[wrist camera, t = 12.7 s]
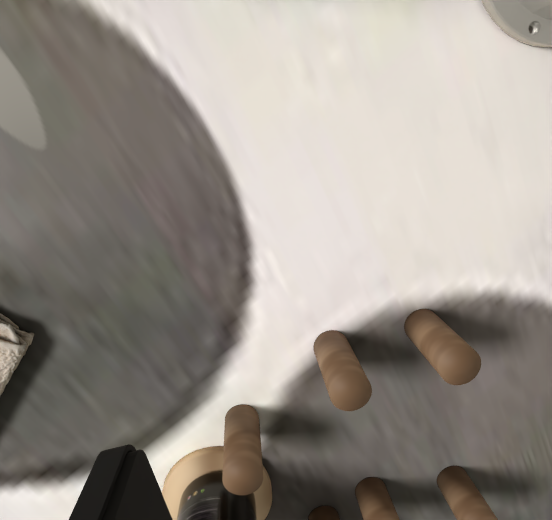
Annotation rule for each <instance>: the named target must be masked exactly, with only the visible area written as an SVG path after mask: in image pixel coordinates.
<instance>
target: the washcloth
mask: <svg viewBox="0 0 552 520" xmlns="http://www.w3.org/2000/svg"><path fill="white" fill-rule="evenodd" d="M33 337H34V333H32V332H30V333H27V332H25V331H21V330H20V329H19V327H18V326H17V325H15V324H14V323H13V322H12V321H11V320H10V319H9V318H7V317H5V316H4V315H2V314H0V396H1V394H2V393H3V392H4V388H5V386H6V384H8V382H9V380H10V379H11V376H12V374H13V372H14V370H15V369H17V366H18V365H19V362H20V361H21V359H22V357H23V356H25V354H26V351H27V348H28V346H29V345H31V343H32V340H33Z"/></svg>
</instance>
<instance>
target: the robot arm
mask: <svg viewBox="0 0 552 520" xmlns="http://www.w3.org/2000/svg"><path fill="white" fill-rule="evenodd" d="M482 3H483V5H484V7H485V9H486V11H487V12H488V14H489V15H490V17H491V18H492V20H493V21H494V22H495V23H496V24H497V25H498V26H499V27H500V28H501V29H502V30H503V31H504V32H505V33H506V34H508V35H510V36H511V37H513V38H514V39H516V40H518V41H520V42H523V43H526V44H529V45H532V46H540V47H552V0H482ZM528 29H529V30H528ZM69 520H173V519H172V517H171V514H170V512H169V510H168V507H167V505H166V502H165V500H164V497H163V495H162V493H161V490H160V488H159V485H158V483H157V481H156V478H155V476H154V473H153V471H152V468H151V466H150V464H149V461H148V459H147V456H146V454H145V452H144V451H143V450H137V451H136V449H135V447H133V446H132V445H125V446H121V447H117V448H113V449H108V450H104V451H102V452H100V454H99V455H98V457H97V459H96V461H95V463H94V465H93V468H92V470H91V472H90V474H89V476H88V479H87V481H86V483H85V485H84V487H83V490H82V492H81V494H80V496H79V498H78V501H77V503H76V505H75V507H74V509H73V512H72V514H71V516H70V518H69Z"/></svg>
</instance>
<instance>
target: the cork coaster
mask: <svg viewBox="0 0 552 520" xmlns="http://www.w3.org/2000/svg"><path fill="white" fill-rule="evenodd" d="M223 454H224V447H221V446H217V447H208V448H203V449H200V450H196V451H194V452H192V453H190V454H188V455H186V456H184V457H183V458H182V459H180V460H179V461H178V462H177V463H176V464H175V465H174V466H173V467H172V468H171V470H170V471H169V473H168V475H167V477H166V479H165V482H164V487H163V491H162V495H163V497H164V500H165V502H166V505H167V507H168V510H169V512H170V514H171V517H172V519H173V520H177V515H178V509H179V504H180V500H181V496H182V494H183V492H184V490H185V489H186V487H187V486H188V485H189V484H190V483H191V482H192V481H193V480H195V479H196V478H198V477H200V476H202V475H204V474H207V473H211V472H223ZM262 466H263V465H262ZM253 493H254V496H255V502H256V517H257V520H265V518H266V517H267V515H268V513H269V511H270V508H271V504H272V488H271V481H270V477H269V475H268V472H267V471H266V469H265V467H264V466H263V482H262V485H261V486H260V487H259V489H258V490H256V491H255V492H253Z"/></svg>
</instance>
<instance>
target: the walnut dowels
mask: <svg viewBox="0 0 552 520" xmlns="http://www.w3.org/2000/svg"><path fill="white" fill-rule="evenodd" d="M404 329H405V333H406V335H407V336H408V337H409V338H410V339H411V341H412V342H413V343H414V344H415V346H416V347H417V348H418V349H419V350H420V352H421V353H422V354H423V355H424V356H425V358H426V359H427V360H428V361H429V362H430V364H431V365H432V366H433V367H434V368H435V370H436V371H437V372H438V373H439V374H440V376H441V377H442V378H443V379H444V380H445V381H446V382H447V383H449V384H452V385H462V384H466V383H468V382H470V381H471V380H473V379H474V378H475V377H476V375H477V374H478V372H479V370H480V367H481V359H480V356H479V354H478V353H477V352H476V351H475V350H474V349H473V348H472V347H471V346H469V345H468V344H467V343H466V342H465V341H464V340H463V339H462V338H461V337H460V336H459V335H458V334H456V333H455V332H454V331H453V330H452V329H451V328H450V327H449V326H448V325H447V324H446V323H445V322H443V321H442V320H441V319H440V318H439V317H438V316H437V315H436V314H435V313H434V312H432V311H431V310H428V309H419V310H416V311H414V312H412V313H411V314H410V315H409V316H408V317H407V319H406V321H405V325H404ZM314 352H315V355H316V358H317V361H318V364H319V367H320V370H321V373H322V376H323V379H324V381H325V384H326V387H327V390H328V393H329V396H330V399H331V401H332V403H333V404H334V405H335V406H336V407H337V408H339V409H341V410H344V411H354V410H357V409H359V408H361V407H363V406H364V405H365V404H366V403H367V402H368V401H369V399H370V397H371V393H372V388H371V384H370V382H369V380H368V378H367V377H366V375H365V373H364V371H363V369H362V367H361V365H360V363H359V361H358V359H357V357H356V356H355V354H354V352H353V350H352V348H351V346H350V344H349V342H348V340H347V338H346V337H345V336H344V335H343V334H342V333H341V332H338V331H333V330H331V331H326V332H324V333H322V334H320V335H319V336H318V337H317V339H316V340H315V342H314ZM222 481H223V485H224V487H225V488H226V489H227V490H228V491H229V492H231V493H233V494H236V495H248V494H251V493H253V492H255V491H256V490H258V489H259V487H260V486H261V485H262V482H263V466H262V452H261V438H260V424H259V415H258V413H257V411H256V410H255V409H254V408H253V407H251V406H248V405H237V406H234V407H232V408H231V409H230V410H229V411H228V412H227V414H226V417H225V433H224V454H223V476H222ZM437 485H438V487H439V488H440V490H441V492H442V494H443V496H444V497H445V499H446V501H447V503H448V504H449V506H450V508H451V510H452V511H453V513H454V515H455V517H456V519H457V520H498V519H497V518H496V516H495V515H494V513H493V512H492V510H491V509H490V507H489V506H488V504H487V503H486V501H485V500H484V498H483V497H482V495H481V494H480V492H479V491H478V489H477V488H476V486H475V485H474V483H473V482H472V480H471V479H470V477H469V476H468V474H467V473H466V471H465V470H464V469H463V468H461V467H459V466H450V467H447V468H445V469H444V470H442V471H441V472H440V474H439V475H438V477H437ZM355 495H356V498H357V501H358V504H359V507H360V510H361V513H362V517H363V520H399V517H398V515H397V512H396V510H395V508H394V505H393V503H392V500H391V498H390V496H389V493H388V491H387V488H386V486H385V484H384V482H383V481H382V480H381V479H379V478H375V477H369V478H366V479H363V480H362V481H360V482H359V483H358V485H357V486H356V489H355ZM308 520H340V518H339V515H338V512H337V511H336V510H335V509H334V508H333V507H330V506H320V507H318V508H316V509H314V510H313V511H312V512H311V513H310V515H309V518H308Z"/></svg>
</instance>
